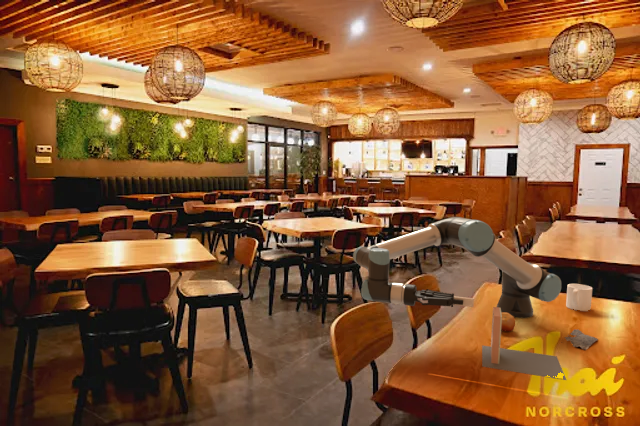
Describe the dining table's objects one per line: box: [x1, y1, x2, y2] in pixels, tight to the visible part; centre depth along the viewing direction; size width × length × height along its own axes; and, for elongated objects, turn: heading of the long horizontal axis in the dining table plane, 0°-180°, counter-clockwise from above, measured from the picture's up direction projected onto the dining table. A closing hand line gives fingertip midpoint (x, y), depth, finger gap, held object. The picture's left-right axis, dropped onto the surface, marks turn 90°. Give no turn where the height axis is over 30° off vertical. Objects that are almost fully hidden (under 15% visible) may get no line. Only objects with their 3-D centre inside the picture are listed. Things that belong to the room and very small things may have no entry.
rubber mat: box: [481, 345, 567, 381], centre depth 142 cm, size 24×18×1 cm
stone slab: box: [561, 329, 599, 351], centre depth 162 cm, size 18×2×10 cm
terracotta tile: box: [490, 306, 502, 364], centre depth 144 cm, size 2×10×16 cm, turn 159°
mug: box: [565, 283, 593, 312], centre depth 200 cm, size 13×10×10 cm
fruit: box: [501, 312, 516, 333], centre depth 171 cm, size 8×8×8 cm
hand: (473, 302), depth 146 cm, fingers closed
